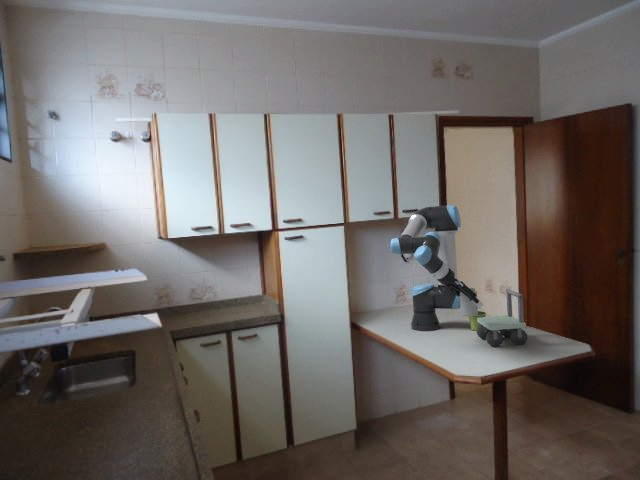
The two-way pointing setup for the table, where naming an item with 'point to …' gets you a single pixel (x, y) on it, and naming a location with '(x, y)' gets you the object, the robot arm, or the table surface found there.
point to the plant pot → (474, 322)
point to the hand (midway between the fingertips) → (475, 305)
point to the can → (468, 305)
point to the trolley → (504, 324)
